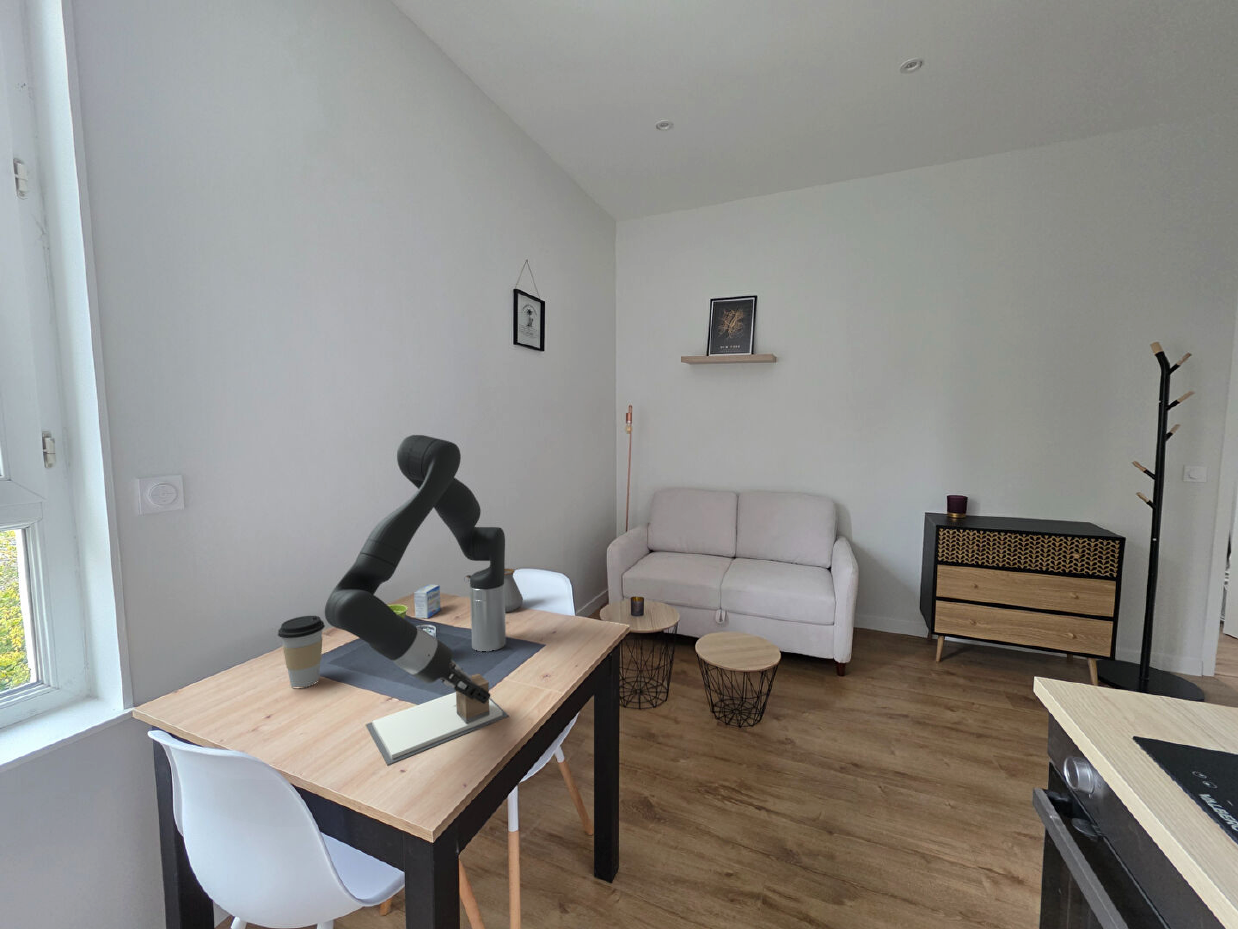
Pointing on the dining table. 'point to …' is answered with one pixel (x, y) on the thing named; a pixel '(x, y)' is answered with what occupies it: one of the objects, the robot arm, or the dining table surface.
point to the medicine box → (427, 601)
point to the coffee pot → (510, 591)
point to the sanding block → (472, 702)
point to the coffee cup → (302, 649)
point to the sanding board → (425, 727)
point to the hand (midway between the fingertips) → (481, 693)
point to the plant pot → (399, 609)
